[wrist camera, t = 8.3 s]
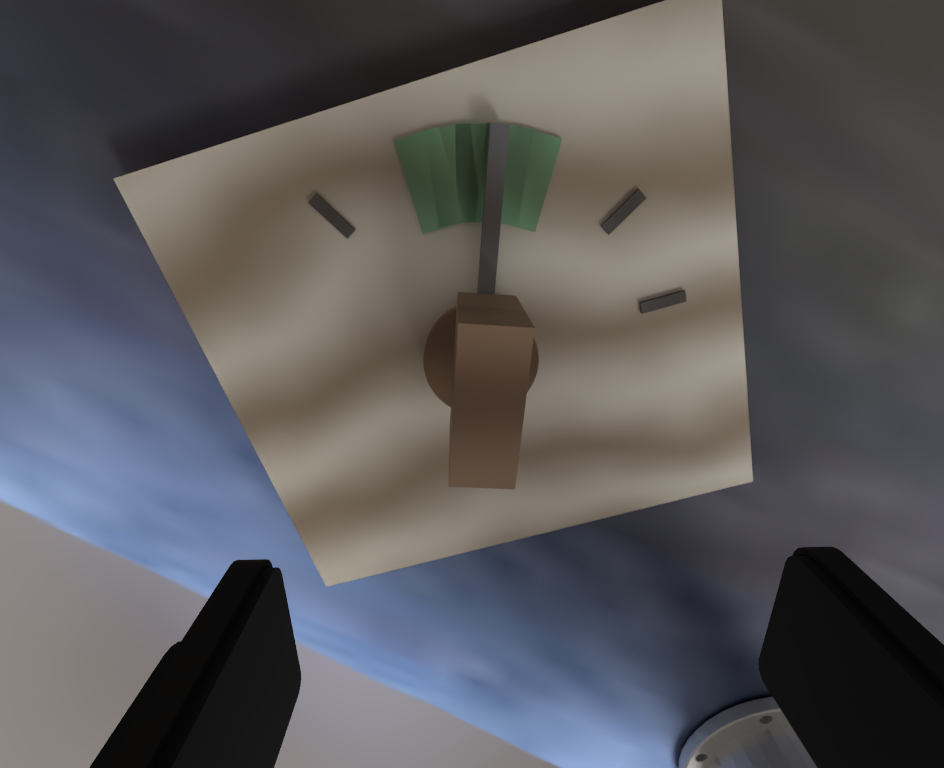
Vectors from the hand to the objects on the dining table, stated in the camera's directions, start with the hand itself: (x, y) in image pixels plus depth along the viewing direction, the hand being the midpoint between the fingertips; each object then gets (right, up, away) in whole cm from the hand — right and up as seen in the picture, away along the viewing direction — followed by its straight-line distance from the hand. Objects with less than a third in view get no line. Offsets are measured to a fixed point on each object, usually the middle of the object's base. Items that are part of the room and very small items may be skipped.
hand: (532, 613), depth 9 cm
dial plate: (-1, +6, +15) cm, 16 cm away
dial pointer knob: (-1, +8, +11) cm, 14 cm away
